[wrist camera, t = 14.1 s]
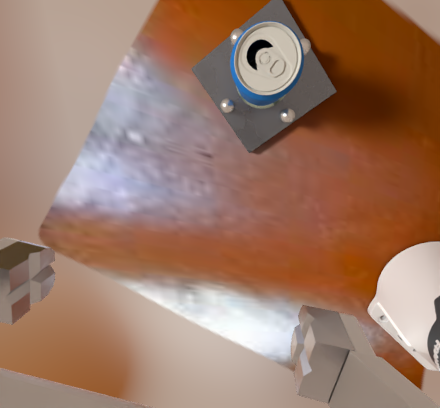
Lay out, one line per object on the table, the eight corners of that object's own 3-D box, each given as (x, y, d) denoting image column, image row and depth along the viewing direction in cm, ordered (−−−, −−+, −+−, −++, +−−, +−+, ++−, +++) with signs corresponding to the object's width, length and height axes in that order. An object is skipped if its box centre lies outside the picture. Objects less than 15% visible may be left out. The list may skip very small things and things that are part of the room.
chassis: (334, 92, 36) (342, 89, 32) (249, 152, 39) (249, 155, 36) (277, -2, 34) (280, -16, 30) (192, 70, 37) (186, 65, 34)
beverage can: (257, 38, 34) (260, -3, 22) (299, 71, 34) (323, 48, 23) (226, 85, 36) (214, 70, 24) (266, 116, 36) (273, 115, 25)
